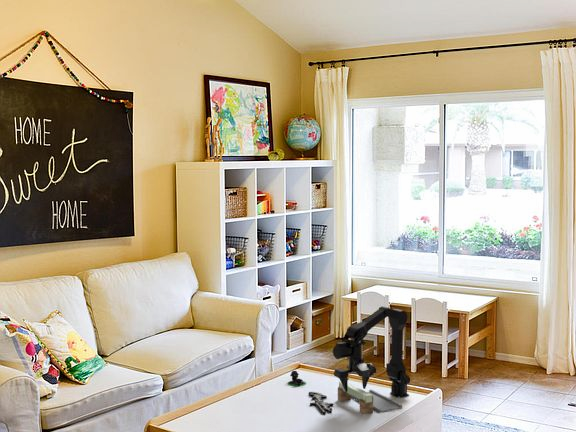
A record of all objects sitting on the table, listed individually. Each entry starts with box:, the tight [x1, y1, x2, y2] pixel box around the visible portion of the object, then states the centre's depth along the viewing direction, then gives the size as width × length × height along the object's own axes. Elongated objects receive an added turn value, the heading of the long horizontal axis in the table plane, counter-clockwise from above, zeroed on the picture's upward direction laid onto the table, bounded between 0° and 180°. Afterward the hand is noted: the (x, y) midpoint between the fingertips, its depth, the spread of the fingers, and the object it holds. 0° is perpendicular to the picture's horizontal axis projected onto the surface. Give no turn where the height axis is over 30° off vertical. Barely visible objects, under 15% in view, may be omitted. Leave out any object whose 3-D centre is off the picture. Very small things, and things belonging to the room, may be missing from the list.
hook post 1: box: [337, 386, 352, 403], centre depth 324 cm, size 5×3×7 cm, turn 117°
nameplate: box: [308, 391, 334, 416], centre depth 319 cm, size 28×2×10 cm
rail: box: [338, 381, 372, 403], centre depth 315 cm, size 22×3×3 cm, turn 27°
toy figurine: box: [286, 370, 307, 387], centre depth 348 cm, size 10×10×6 cm
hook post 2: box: [359, 396, 374, 415], centre depth 308 cm, size 5×3×7 cm, turn 117°
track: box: [351, 388, 403, 414], centre depth 321 cm, size 12×24×2 cm, turn 27°
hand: (355, 390), depth 315 cm, fingers open, 9 cm apart
